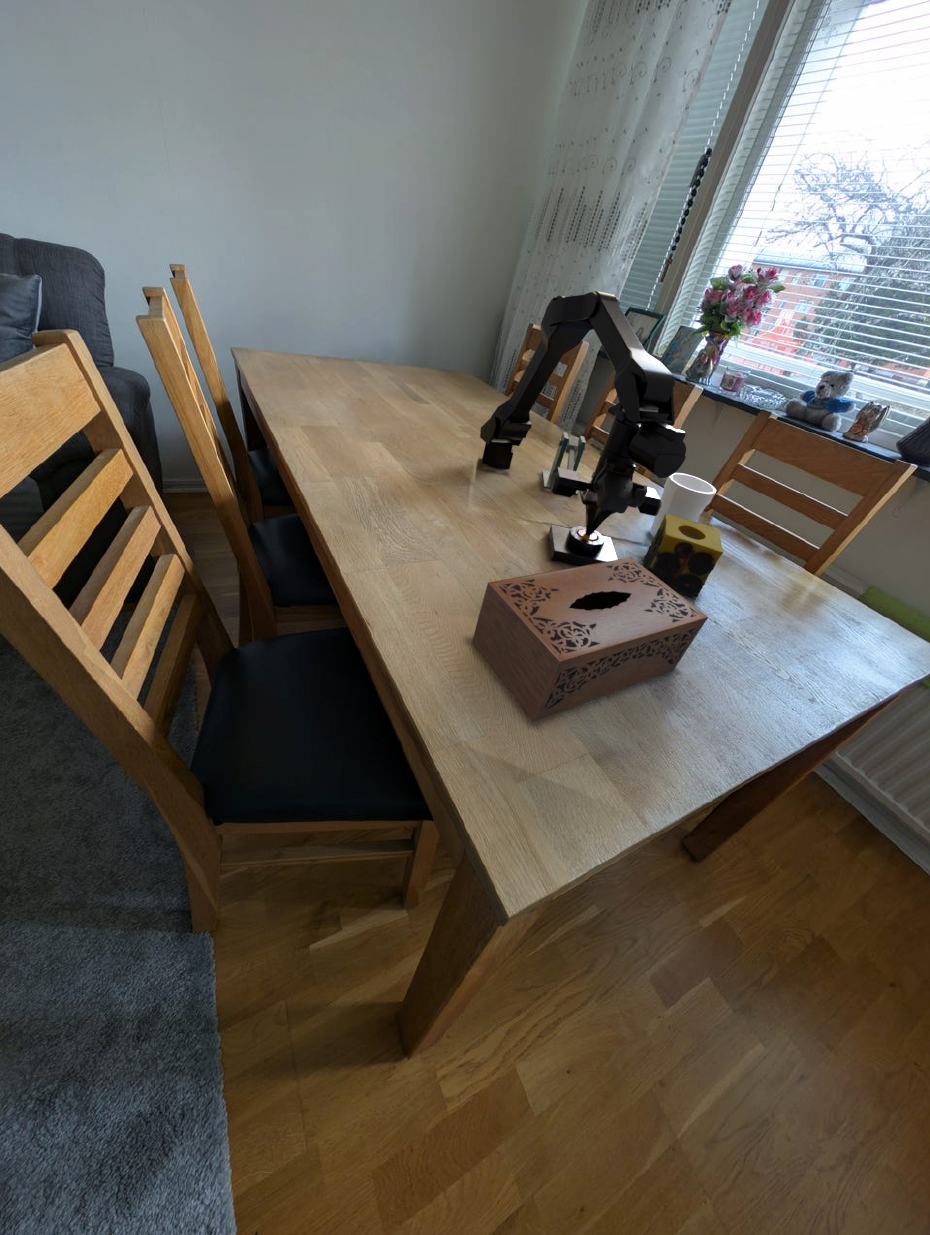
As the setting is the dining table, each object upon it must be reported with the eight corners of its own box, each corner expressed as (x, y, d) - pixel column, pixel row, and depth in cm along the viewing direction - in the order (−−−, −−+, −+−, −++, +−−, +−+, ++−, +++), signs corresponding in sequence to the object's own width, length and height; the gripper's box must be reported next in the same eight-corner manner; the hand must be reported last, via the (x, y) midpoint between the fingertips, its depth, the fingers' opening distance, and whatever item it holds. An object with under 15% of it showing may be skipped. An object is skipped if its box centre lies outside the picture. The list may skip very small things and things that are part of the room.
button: (576, 545, 88) (579, 537, 87) (574, 535, 91) (577, 527, 90) (595, 549, 88) (598, 541, 87) (592, 539, 91) (595, 531, 90)
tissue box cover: (532, 722, 56) (559, 661, 50) (471, 642, 65) (488, 582, 59) (673, 670, 69) (708, 616, 63) (606, 609, 78) (631, 557, 72)
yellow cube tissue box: (694, 574, 93) (720, 529, 87) (697, 601, 86) (726, 553, 79) (642, 556, 95) (665, 511, 89) (641, 581, 87) (665, 533, 81)
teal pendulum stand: (576, 498, 111) (594, 448, 104) (543, 491, 111) (558, 440, 104) (572, 481, 119) (589, 434, 112) (541, 474, 119) (555, 426, 112)
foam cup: (691, 544, 104) (722, 488, 96) (675, 556, 98) (707, 497, 90) (652, 524, 108) (679, 469, 100) (634, 534, 102) (661, 477, 94)
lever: (573, 490, 105) (578, 480, 102) (559, 487, 105) (564, 476, 102) (576, 447, 111) (581, 436, 108) (563, 444, 111) (567, 433, 108)
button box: (550, 560, 87) (557, 541, 84) (547, 534, 94) (554, 516, 92) (614, 574, 87) (623, 555, 85) (606, 547, 95) (614, 529, 93)
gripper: (570, 455, 72) (540, 545, 81) (689, 482, 73) (645, 568, 82) (564, 432, 81) (537, 516, 90) (670, 457, 82) (633, 537, 91)
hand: (587, 534), depth 88 cm, fingers closed, pressing on button
